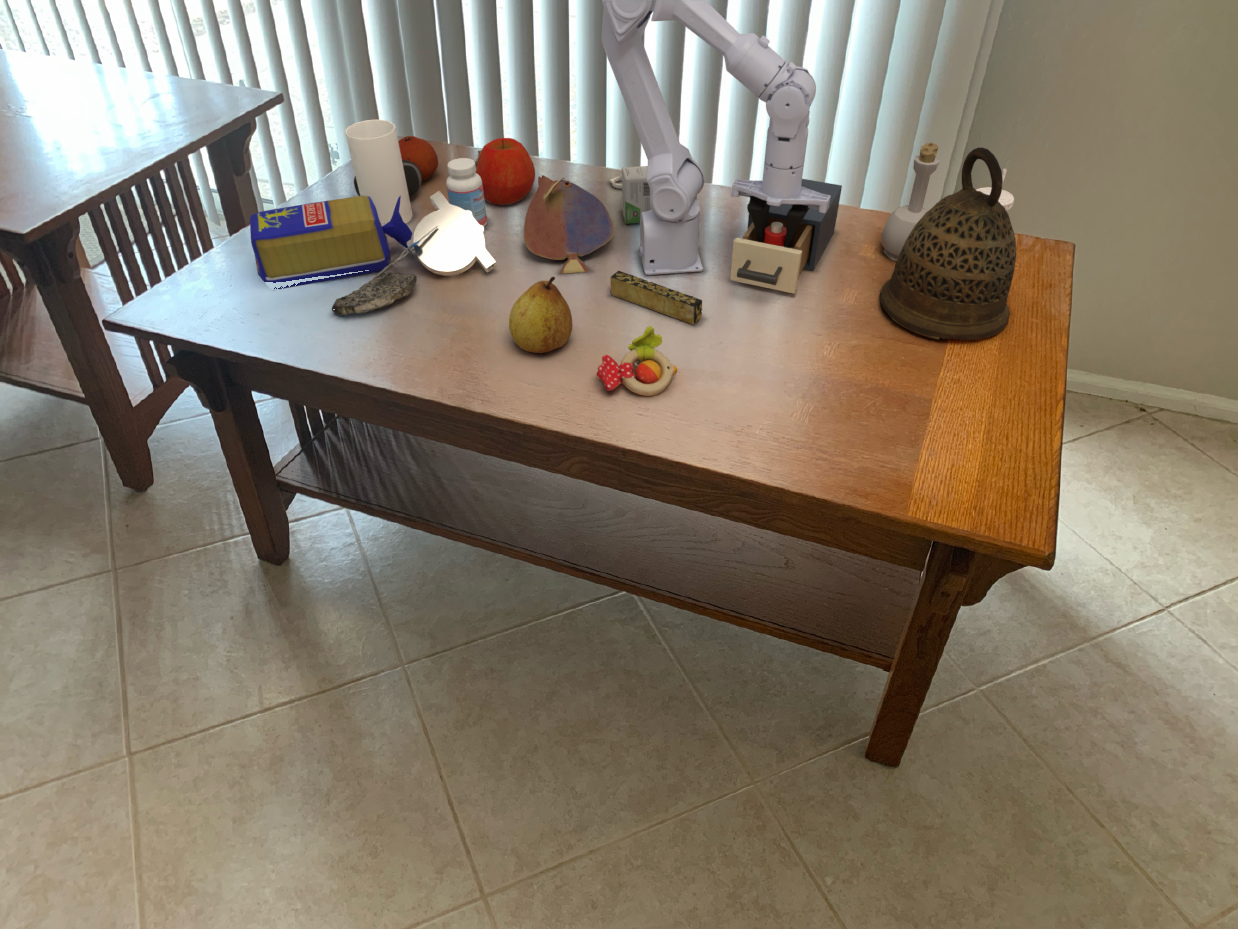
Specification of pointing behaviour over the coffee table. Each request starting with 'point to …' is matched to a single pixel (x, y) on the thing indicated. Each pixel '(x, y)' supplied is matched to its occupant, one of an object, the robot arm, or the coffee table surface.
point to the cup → (379, 167)
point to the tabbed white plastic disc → (450, 240)
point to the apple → (505, 171)
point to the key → (618, 186)
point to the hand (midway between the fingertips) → (774, 245)
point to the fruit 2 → (540, 318)
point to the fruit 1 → (419, 154)
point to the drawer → (771, 259)
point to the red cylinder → (775, 234)
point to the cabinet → (814, 218)
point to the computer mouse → (406, 177)
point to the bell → (956, 264)
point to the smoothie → (1005, 197)
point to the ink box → (635, 193)
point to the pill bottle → (466, 188)
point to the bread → (324, 240)
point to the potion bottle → (910, 204)
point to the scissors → (400, 257)
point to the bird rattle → (639, 367)
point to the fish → (566, 223)
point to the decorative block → (656, 297)
